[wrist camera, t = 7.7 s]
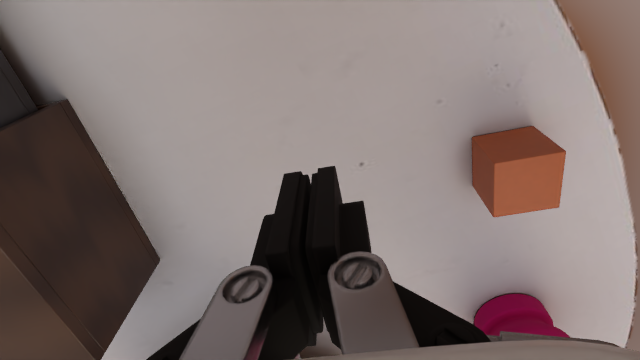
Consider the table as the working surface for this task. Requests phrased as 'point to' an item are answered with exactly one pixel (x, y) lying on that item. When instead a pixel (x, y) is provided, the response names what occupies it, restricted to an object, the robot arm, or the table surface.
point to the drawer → (12, 95)
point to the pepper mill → (515, 316)
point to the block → (517, 171)
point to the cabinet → (63, 242)
